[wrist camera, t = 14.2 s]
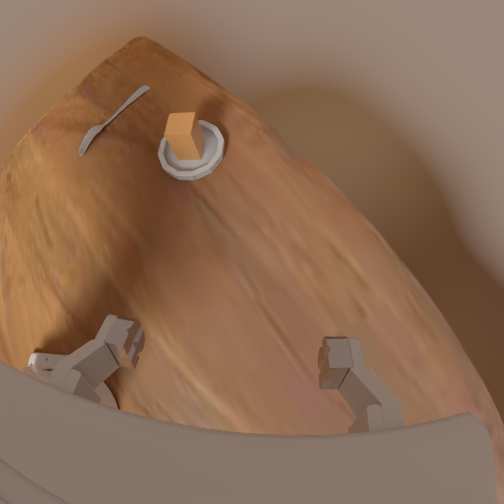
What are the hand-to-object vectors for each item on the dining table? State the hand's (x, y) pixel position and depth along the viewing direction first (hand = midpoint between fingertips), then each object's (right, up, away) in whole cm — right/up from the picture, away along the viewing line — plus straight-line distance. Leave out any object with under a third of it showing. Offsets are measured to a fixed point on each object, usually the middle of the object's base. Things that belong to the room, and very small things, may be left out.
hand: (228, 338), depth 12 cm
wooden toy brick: (-9, +21, +33) cm, 40 cm away
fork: (-27, +31, +37) cm, 55 cm away
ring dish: (-9, +21, +34) cm, 41 cm away
